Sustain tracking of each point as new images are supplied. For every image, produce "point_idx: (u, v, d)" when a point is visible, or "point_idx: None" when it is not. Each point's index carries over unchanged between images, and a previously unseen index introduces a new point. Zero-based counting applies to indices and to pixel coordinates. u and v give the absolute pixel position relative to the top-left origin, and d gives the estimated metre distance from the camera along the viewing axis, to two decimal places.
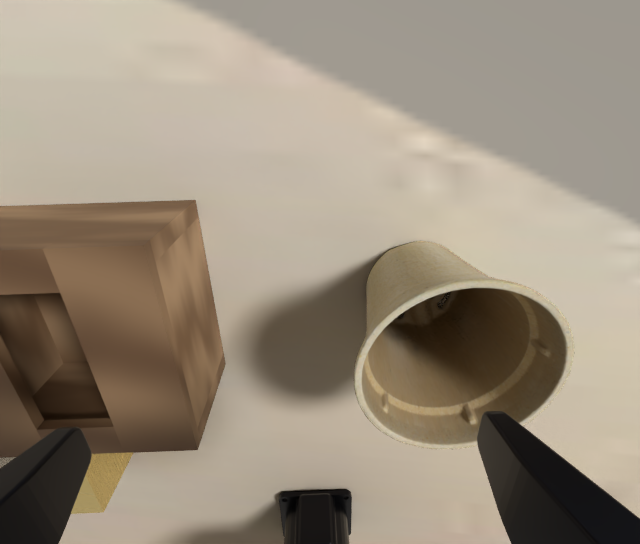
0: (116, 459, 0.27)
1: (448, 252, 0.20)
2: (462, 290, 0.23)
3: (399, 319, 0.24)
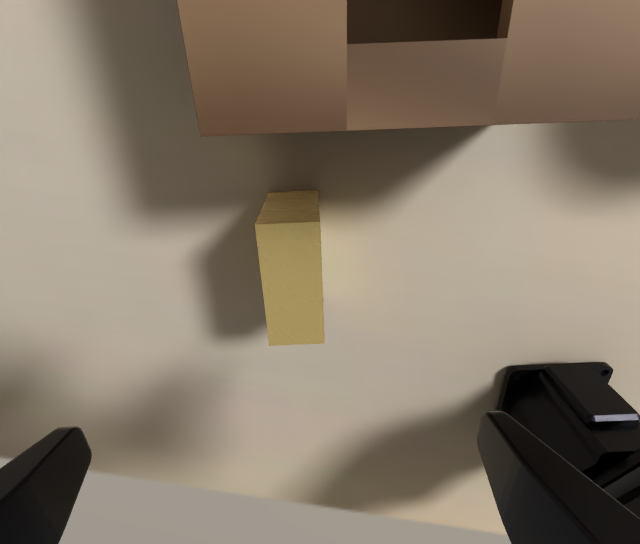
0: None
1: None
2: None
3: None
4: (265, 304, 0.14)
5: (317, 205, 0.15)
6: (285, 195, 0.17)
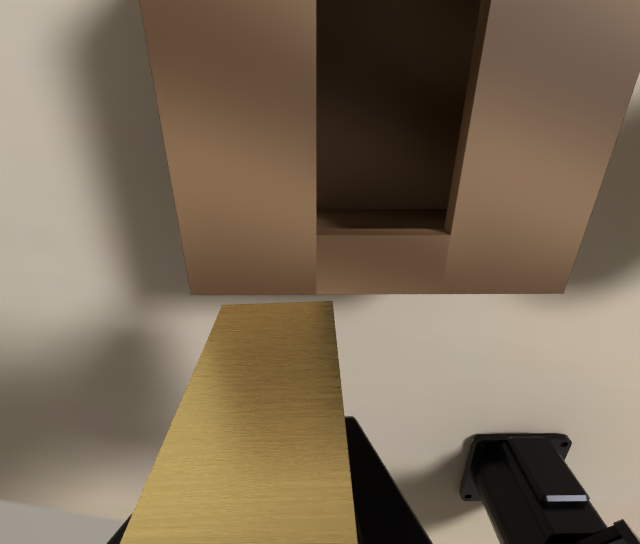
0: None
1: None
2: None
3: None
4: None
5: (338, 397, 0.05)
6: (256, 325, 0.07)
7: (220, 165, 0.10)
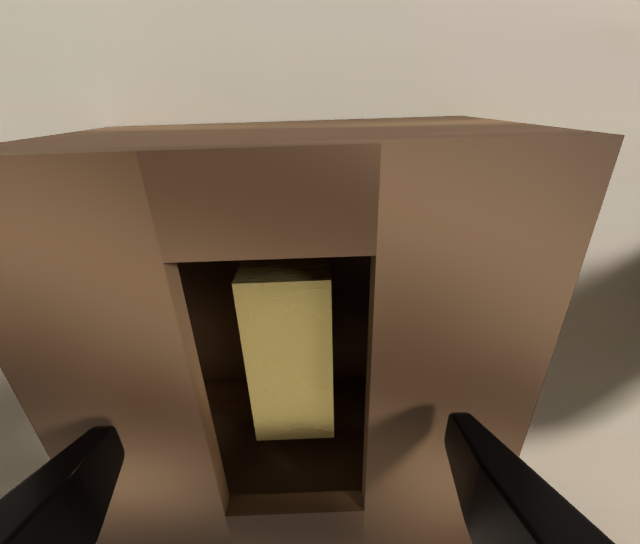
0: None
1: None
2: None
3: None
4: (250, 390, 0.10)
5: None
6: None
7: None
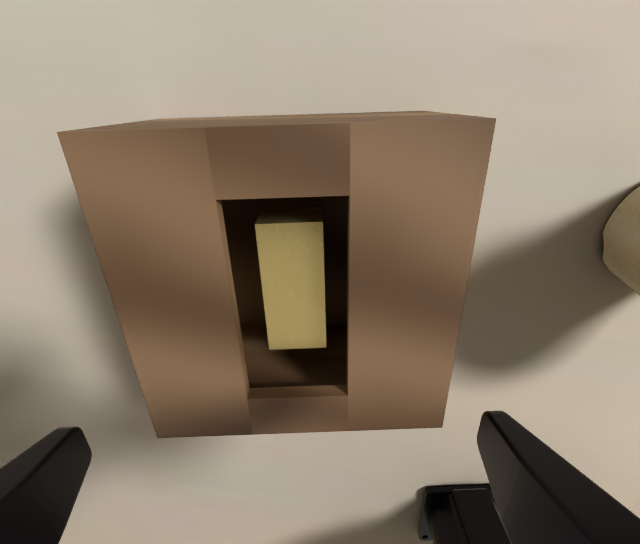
0: None
1: None
2: None
3: None
4: (265, 307, 0.14)
5: (319, 204, 0.14)
6: None
7: (170, 361, 0.13)
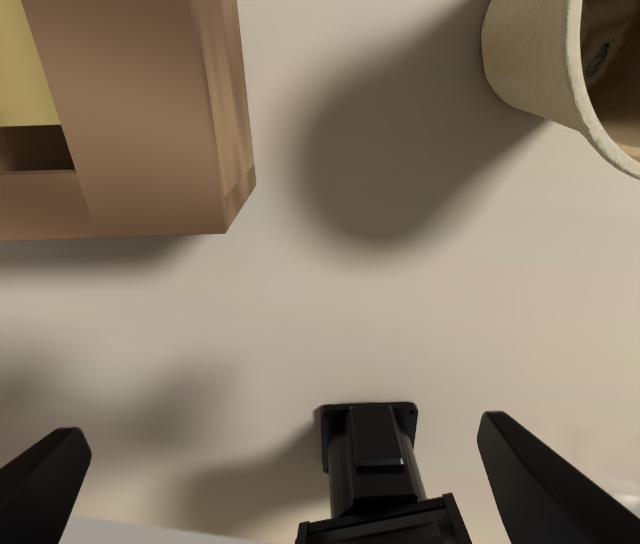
0: None
1: None
2: (634, 32, 0.14)
3: None
4: None
5: None
6: None
7: None
